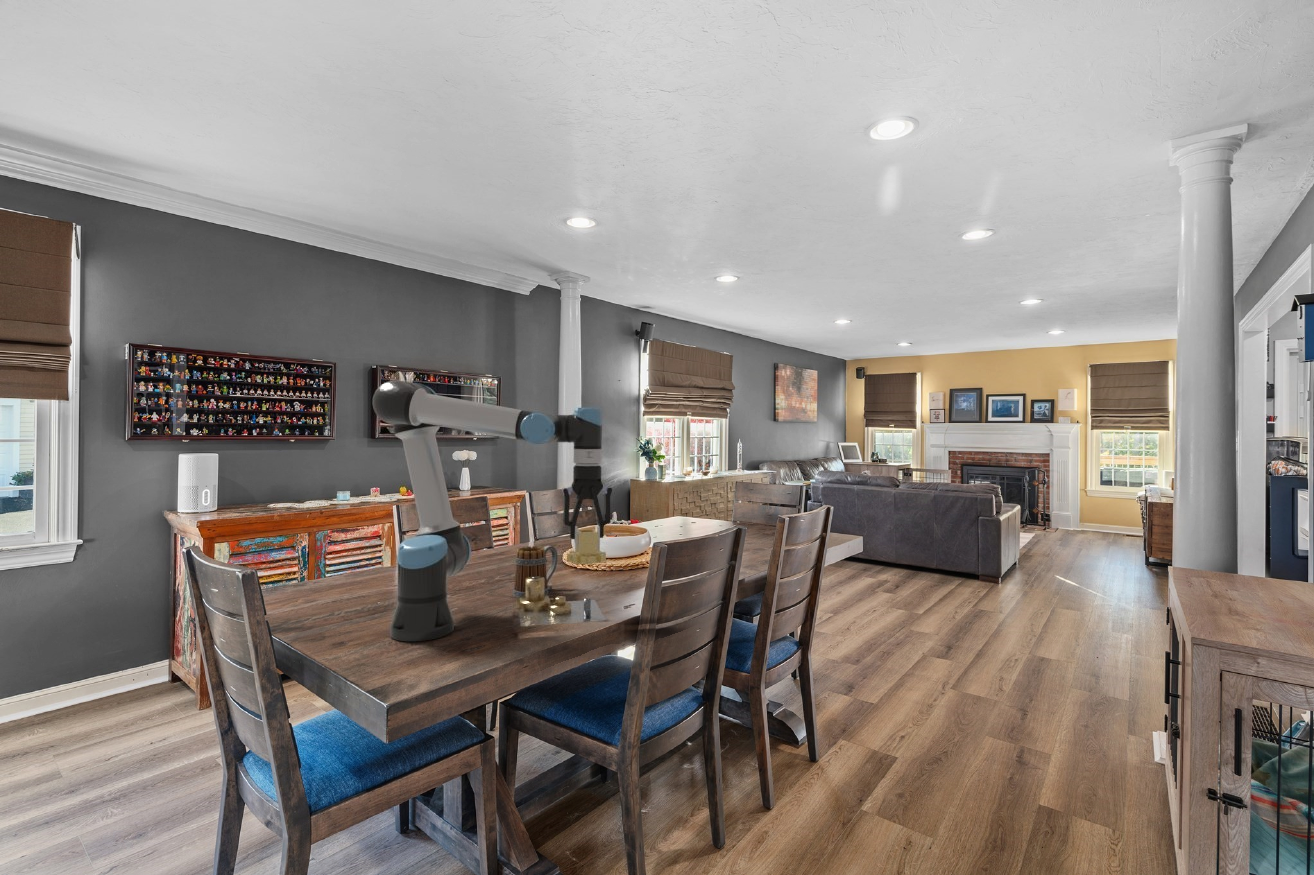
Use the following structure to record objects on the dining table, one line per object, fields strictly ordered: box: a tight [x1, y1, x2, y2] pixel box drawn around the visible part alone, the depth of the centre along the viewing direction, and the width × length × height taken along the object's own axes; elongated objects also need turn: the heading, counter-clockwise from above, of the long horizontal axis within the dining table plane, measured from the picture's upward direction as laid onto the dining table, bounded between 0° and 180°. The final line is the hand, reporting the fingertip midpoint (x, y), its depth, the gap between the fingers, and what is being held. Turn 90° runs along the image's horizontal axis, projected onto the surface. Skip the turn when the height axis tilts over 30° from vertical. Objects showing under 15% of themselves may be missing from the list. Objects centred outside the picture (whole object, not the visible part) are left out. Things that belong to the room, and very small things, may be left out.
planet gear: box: [566, 528, 607, 566], centre depth 166 cm, size 10×10×8 cm
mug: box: [512, 545, 558, 599], centre depth 188 cm, size 16×11×15 cm
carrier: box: [515, 576, 607, 627], centre depth 169 cm, size 23×22×10 cm
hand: (586, 550), depth 166 cm, fingers closed on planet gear, 5 cm apart
